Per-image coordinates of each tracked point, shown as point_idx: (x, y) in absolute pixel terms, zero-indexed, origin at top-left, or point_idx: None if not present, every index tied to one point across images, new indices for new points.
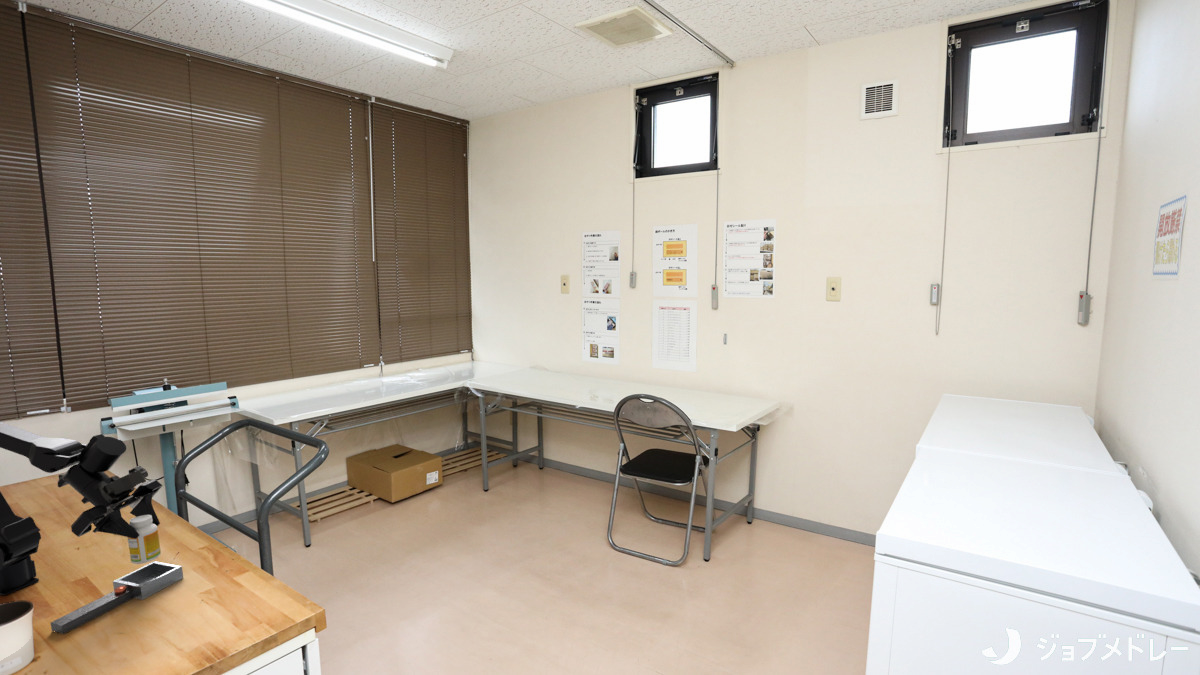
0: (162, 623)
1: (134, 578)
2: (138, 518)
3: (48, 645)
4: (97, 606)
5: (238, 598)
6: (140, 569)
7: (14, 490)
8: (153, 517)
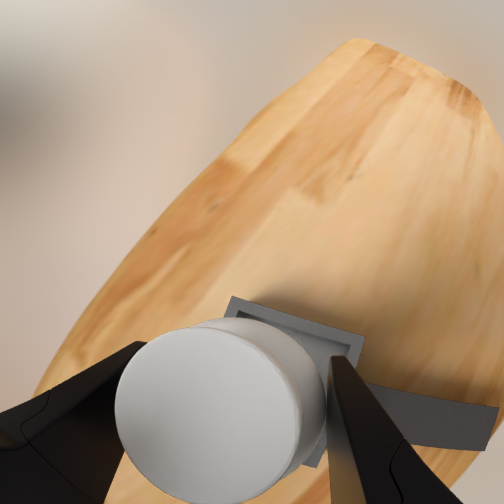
0: (438, 204)
1: None
2: (196, 447)
3: None
4: (434, 403)
5: (337, 117)
6: None
7: None
8: (114, 374)
